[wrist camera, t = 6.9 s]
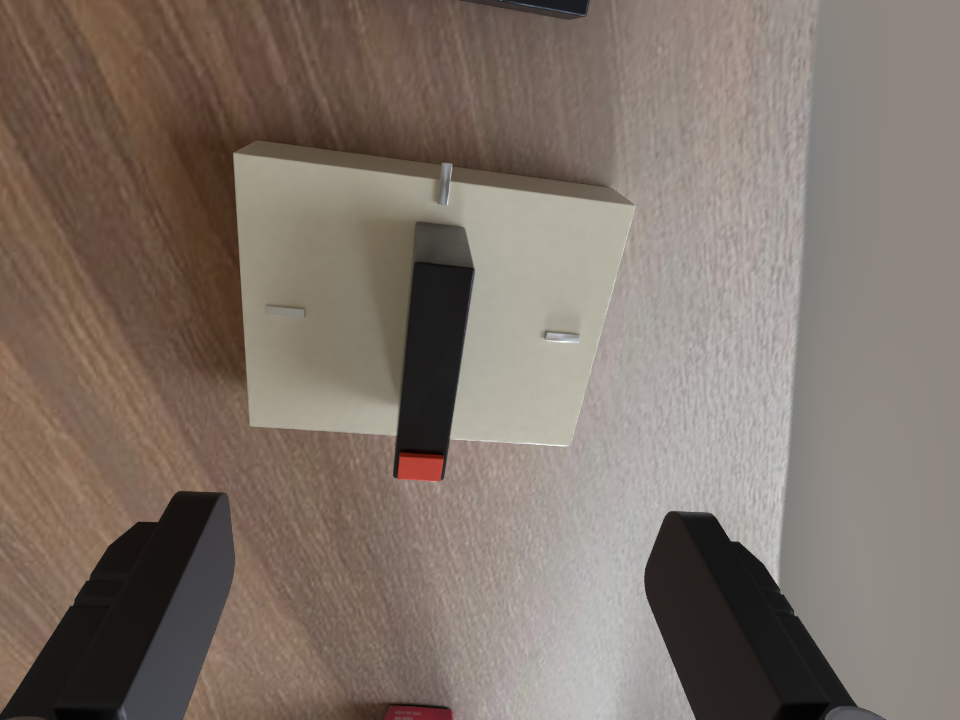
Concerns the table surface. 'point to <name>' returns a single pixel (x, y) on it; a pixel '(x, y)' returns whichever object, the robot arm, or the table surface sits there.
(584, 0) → the button box
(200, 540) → the robot arm
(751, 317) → the table surface
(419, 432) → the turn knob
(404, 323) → the beige base plate
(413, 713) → the ink box
